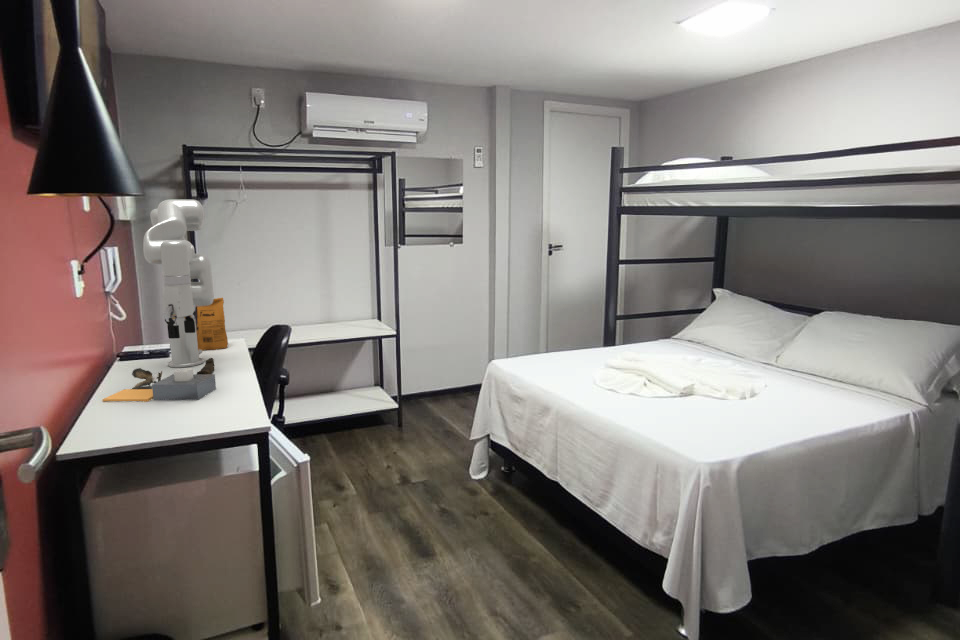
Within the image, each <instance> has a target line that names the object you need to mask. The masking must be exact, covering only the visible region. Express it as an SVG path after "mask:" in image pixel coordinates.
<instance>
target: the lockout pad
mask: <svg viewBox="0 0 960 640" xmlns="http://www.w3.org/2000/svg"><path fill="white" fill-rule="evenodd" d="M151 399H152V400H153V390H152V388H138V389H131V388H126V389H121V390H119V391H118V392H115V393H113V394H111V395H109V396H106V397H104V398H102V401H142V402H141V403H143V401H144V403H147V402H149V400H150V401H152V400H151Z"/></svg>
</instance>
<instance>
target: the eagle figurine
mask: <svg viewBox="0 0 960 640" xmlns="http://www.w3.org/2000/svg"><path fill="white" fill-rule="evenodd" d="M131 375H132V376H133V378H135V379H140V380H141V381H140V382H138V383H136V384H135V385H134V386H133V387H131V388H132V389H141V387H145V386H148V385H152V384H154V383H156V382H158V381H160V380H162V375H163V370H161V371H160V372H158V373H157V372H155V373H154V374H153V373H152V372H151V371H150V370H145V369H143V368H141V367H139V368H135V369H134V370H132V372H131ZM142 380H143V381H142ZM156 380H157V381H156Z"/></svg>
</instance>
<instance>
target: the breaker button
mask: <svg viewBox="0 0 960 640" xmlns="http://www.w3.org/2000/svg"><path fill="white" fill-rule="evenodd" d="M193 374H194V369H193V368H179V369H176V370H174V371H173V375H174V378H175V381H190V380H192V379H194V376H193Z"/></svg>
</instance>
